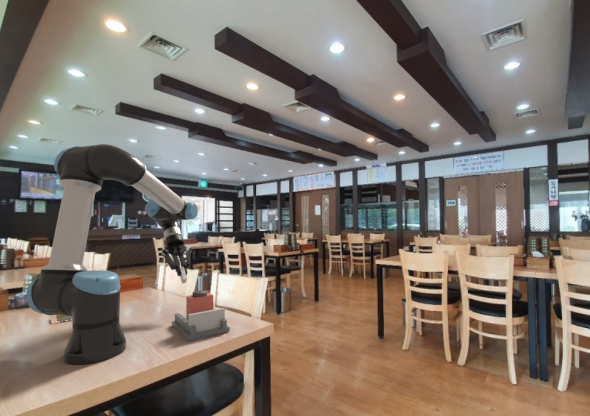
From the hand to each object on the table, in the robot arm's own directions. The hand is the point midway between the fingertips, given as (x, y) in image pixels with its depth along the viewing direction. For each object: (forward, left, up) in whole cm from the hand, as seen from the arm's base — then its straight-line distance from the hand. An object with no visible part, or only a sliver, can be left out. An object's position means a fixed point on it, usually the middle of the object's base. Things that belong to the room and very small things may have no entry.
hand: (184, 281), depth 125 cm
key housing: (0, -18, -14) cm, 23 cm away
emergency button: (-37, +30, -15) cm, 49 cm away
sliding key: (0, -19, -13) cm, 23 cm away
